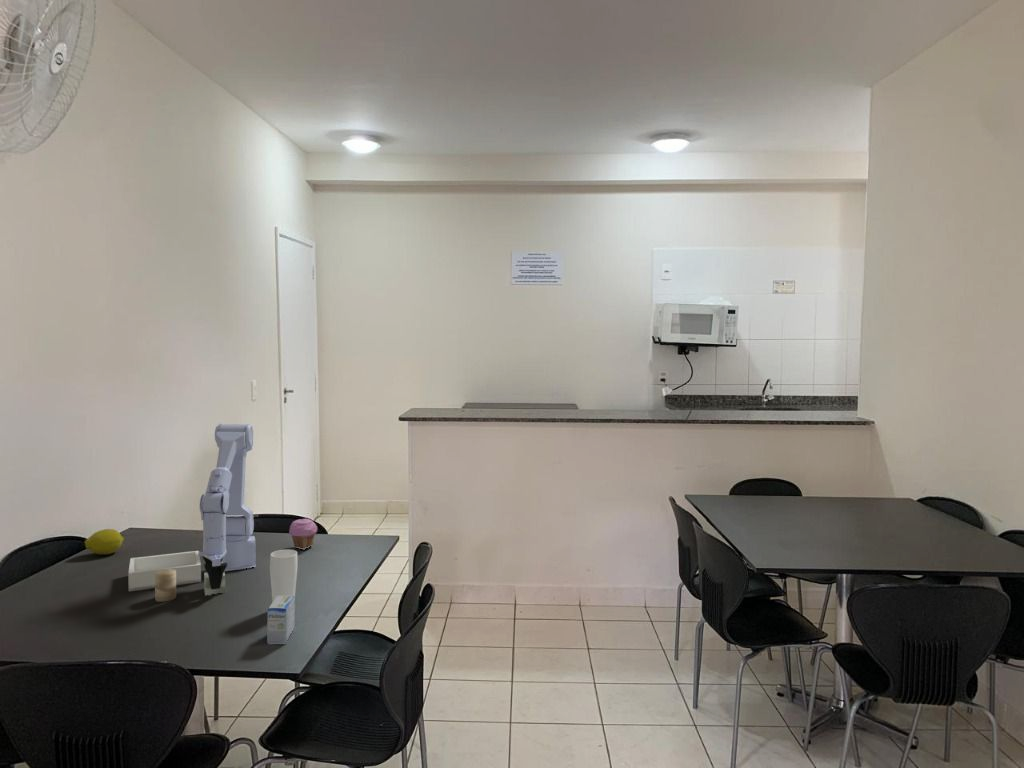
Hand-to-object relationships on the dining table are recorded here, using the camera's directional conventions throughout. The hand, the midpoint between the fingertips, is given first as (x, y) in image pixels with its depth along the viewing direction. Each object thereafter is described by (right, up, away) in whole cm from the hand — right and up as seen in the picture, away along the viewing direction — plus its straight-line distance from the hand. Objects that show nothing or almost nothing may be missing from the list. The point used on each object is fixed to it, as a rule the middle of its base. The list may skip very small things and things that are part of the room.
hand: (214, 583), depth 183 cm
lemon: (-48, +1, +28) cm, 55 cm away
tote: (-18, -1, +9) cm, 20 cm away
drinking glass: (+23, -4, -11) cm, 26 cm away
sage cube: (0, -2, 0) cm, 2 cm away
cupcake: (+12, 0, +39) cm, 41 cm away
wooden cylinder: (-11, -2, -5) cm, 12 cm away
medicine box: (+28, -5, -27) cm, 39 cm away
